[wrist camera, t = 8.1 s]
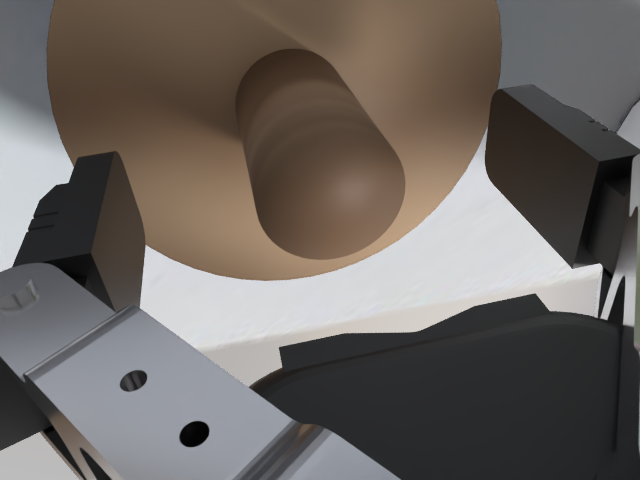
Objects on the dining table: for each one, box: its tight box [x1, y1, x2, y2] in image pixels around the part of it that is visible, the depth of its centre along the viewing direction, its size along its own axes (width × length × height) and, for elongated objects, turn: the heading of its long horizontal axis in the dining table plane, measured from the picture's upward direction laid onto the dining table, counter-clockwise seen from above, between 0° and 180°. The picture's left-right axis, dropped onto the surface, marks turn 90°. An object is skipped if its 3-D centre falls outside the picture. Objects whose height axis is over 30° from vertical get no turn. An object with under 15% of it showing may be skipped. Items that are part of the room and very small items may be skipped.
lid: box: [47, 0, 502, 281], centre depth 13 cm, size 12×12×6 cm
